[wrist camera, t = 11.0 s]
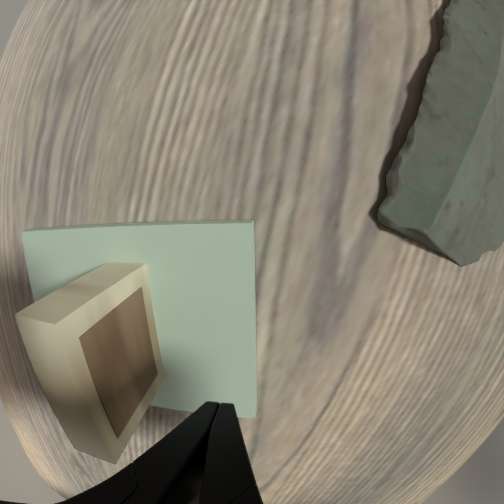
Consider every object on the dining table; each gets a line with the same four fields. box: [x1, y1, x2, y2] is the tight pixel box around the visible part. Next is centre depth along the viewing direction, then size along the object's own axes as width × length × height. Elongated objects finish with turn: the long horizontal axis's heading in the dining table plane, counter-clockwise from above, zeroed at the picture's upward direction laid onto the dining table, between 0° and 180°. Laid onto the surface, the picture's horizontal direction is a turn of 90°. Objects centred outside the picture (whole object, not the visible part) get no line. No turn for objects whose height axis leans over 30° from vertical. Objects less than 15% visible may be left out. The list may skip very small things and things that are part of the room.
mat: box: [21, 220, 257, 418], centre depth 13 cm, size 10×13×1 cm
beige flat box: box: [14, 262, 165, 464], centre depth 10 cm, size 6×2×6 cm, turn 1°
